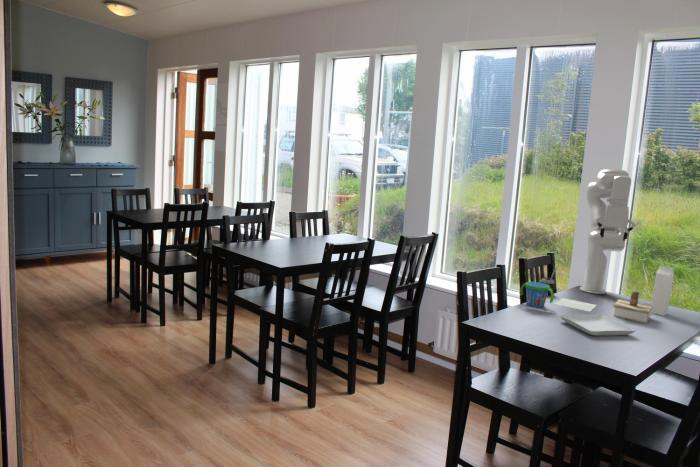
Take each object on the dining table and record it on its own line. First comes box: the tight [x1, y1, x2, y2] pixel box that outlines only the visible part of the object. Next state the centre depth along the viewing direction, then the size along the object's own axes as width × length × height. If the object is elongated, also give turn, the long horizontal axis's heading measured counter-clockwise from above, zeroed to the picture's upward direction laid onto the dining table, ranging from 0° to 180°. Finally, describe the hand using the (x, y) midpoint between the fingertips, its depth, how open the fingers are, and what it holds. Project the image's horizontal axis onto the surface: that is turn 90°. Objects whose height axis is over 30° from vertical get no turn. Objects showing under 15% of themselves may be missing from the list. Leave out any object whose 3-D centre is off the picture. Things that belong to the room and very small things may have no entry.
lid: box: [613, 290, 653, 314], centre depth 260 cm, size 14×14×7 cm
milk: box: [650, 265, 675, 317], centre depth 270 cm, size 6×6×22 cm
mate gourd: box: [539, 264, 560, 296], centre depth 290 cm, size 8×8×15 cm
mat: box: [553, 297, 597, 312], centre depth 273 cm, size 16×16×1 cm
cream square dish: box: [613, 307, 651, 325], centre depth 260 cm, size 13×13×4 cm
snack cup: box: [519, 281, 555, 308], centre depth 266 cm, size 16×10×10 cm
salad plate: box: [559, 313, 637, 336], centre depth 238 cm, size 21×21×3 cm
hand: (613, 238), depth 277 cm, fingers open, 9 cm apart
